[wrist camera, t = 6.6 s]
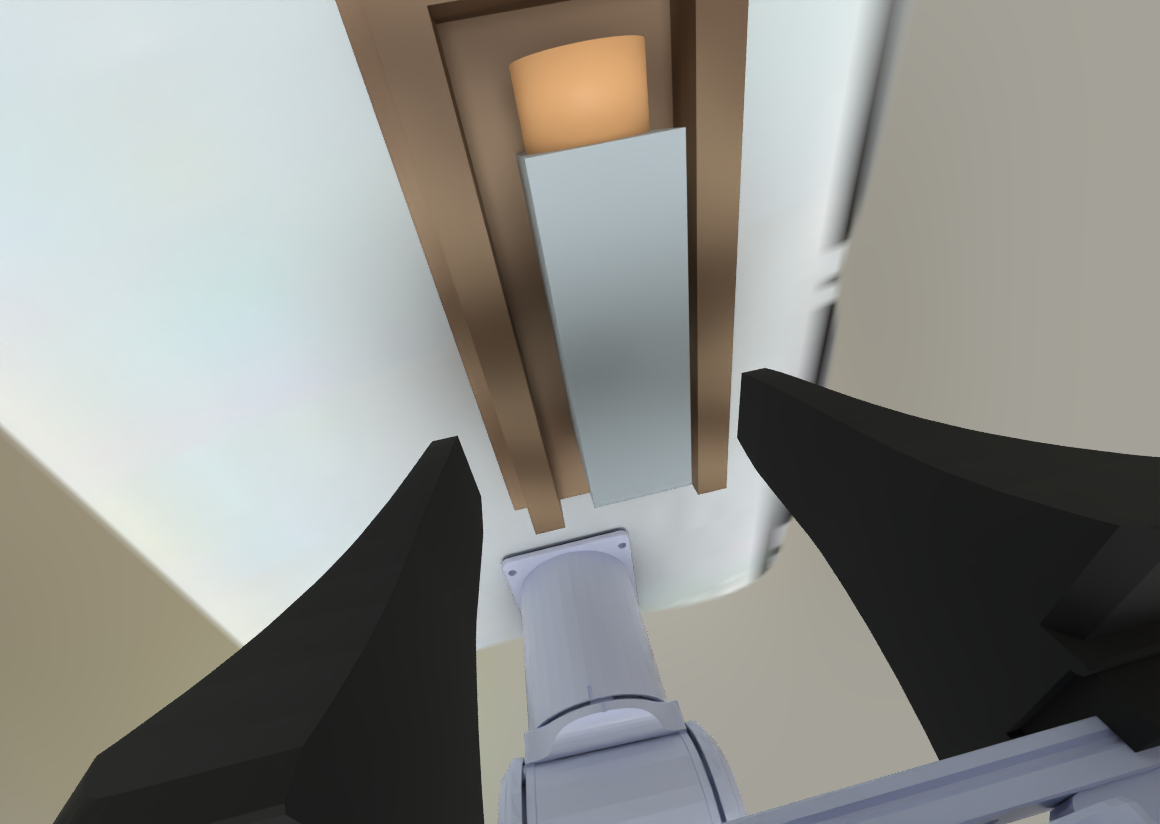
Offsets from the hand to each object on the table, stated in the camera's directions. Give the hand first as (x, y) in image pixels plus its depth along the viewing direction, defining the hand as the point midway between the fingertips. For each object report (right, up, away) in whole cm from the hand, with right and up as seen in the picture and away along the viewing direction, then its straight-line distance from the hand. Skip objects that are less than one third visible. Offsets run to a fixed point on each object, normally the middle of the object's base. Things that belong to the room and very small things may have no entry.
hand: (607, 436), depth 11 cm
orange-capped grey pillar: (0, +5, +7) cm, 8 cm away
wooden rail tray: (0, +6, +8) cm, 9 cm away
